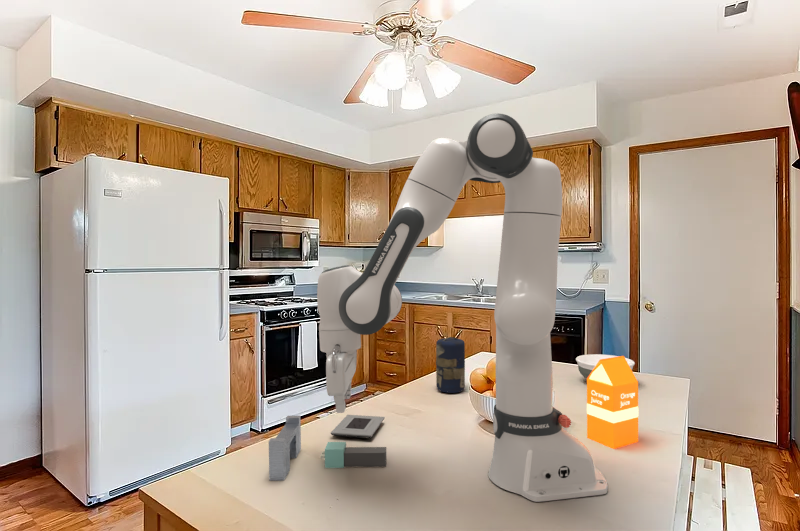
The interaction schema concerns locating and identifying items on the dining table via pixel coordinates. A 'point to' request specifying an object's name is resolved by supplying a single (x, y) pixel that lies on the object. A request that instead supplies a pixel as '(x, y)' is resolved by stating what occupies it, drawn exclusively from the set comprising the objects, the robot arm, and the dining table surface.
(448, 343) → the canister
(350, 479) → the dining table surface
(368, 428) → the electrical outlet
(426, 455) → the dining table surface
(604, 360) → the orange juice
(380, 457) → the plug
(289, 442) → the grey piece
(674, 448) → the dining table surface
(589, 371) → the bowl
